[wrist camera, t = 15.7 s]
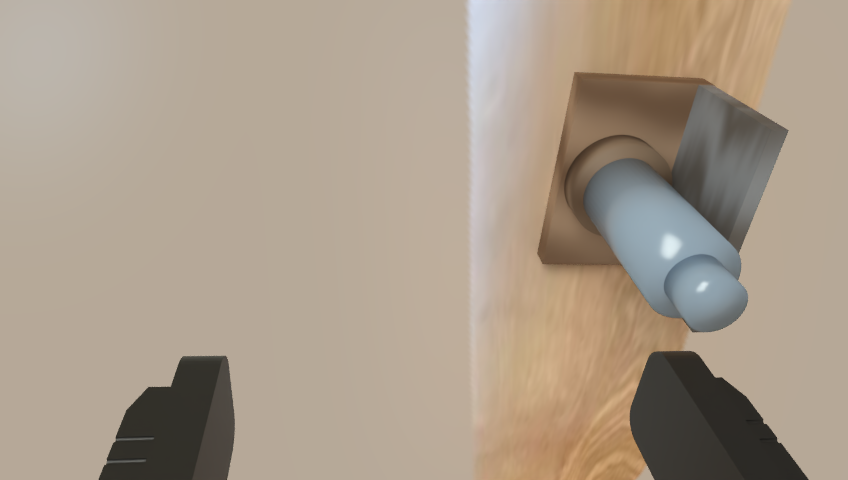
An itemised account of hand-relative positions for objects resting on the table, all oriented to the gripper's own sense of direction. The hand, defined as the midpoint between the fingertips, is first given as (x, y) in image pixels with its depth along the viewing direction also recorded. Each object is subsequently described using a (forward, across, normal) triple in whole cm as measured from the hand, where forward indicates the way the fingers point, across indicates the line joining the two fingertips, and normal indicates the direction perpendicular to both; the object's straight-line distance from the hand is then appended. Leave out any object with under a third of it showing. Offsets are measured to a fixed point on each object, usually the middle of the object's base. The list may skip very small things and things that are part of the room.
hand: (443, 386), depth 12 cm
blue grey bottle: (+27, -17, +9) cm, 33 cm away
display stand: (+30, -18, +9) cm, 36 cm away
